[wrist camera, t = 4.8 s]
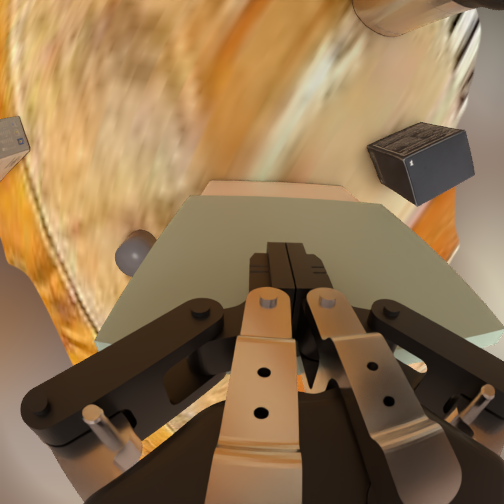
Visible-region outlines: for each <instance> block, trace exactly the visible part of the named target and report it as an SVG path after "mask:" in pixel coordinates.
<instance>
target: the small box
mask: <svg viewBox="0 0 504 504" xmlns="http://www.w3.org/2000/svg"><path fill="white" fill-rule="evenodd" d="M367 149H368V152H369V153H370V155H371V158H372V160H373V163H374V165H375V168H376V171H377V175H378V177H379V179H380V182H381V183H382V184H384V185H385V186H387V187H388V188H390V189H392V190H393V191H395V192H396V193H398V194H399V195H401V196H402V197H404V198H405V199H407V200H408V201H410V202H411V203H413V204H414V205H416V206H417V207H418V206H420V205H422V204H423V203H425V202H427V201H429V200H431V199H433V198H434V197H436V196H438V195H440V194H442V193H444V192H445V191H447V190H449V189H451V188H453V187H454V186H456V185H458V184H460V183H462V182H463V181H465V180H467V179H468V178H471V177H472V176H474V175H475V173H474V166H473V161H472V156H471V152H470V147H469V143H468V139H467V135H466V131H465V130H459V129H453V128H448V127H443V126H438V125H432V124H427V123H423V122H420V123H418V124H416V125H413V126H411V127H409V128H406V129H404V130H402V131H399V132H397V133H394V134H392V135H390V136H388V137H385V138H383V139H381V140H379V141H377V142H374V143H372V144H370V145H368V146H367Z"/></svg>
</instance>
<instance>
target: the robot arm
mask: <svg viewBox="0 0 504 504" xmlns="http://www.w3.org/2000/svg"><path fill="white" fill-rule="evenodd" d="M352 1H353V7H354V10H355V12H356V14H357V15H358V17H359V18H360V19H361V21H362V22H363V23H364V24H365V25H366V26H368V27H369V28H370V29H372V30H374V31H375V32H377V33H379V34H382V35H385V36H400V35H402V34H404V33H407V32H409V31H412V30H414V29H417V28H419V27H422V26H424V25H427V24H429V23H432V22H435V21H438V20H440V19H443V18H446V17H449V16H452V15H455V14H458V13H461V12H464V11H468V10H471V9H475V8H478V7H485V8H488V9H493V10H504V0H352ZM295 341H298V350H297V361H298V365H299V369H300V373H301V377H302V381H303V385H304V389H305V392H298V385H297V361H296V342H295ZM397 345H398V346H399V347H401V348H403V349H404V350H406V351H408V352H409V353H411V354H412V355H414V356H416V357H417V358H419V359H421V360H422V361H424V362H425V364H426V365H427V372H426V373H420V372H417V371H416V370H414V369H413V368H411V367H409V366H408V365H406V364H405V363H403V362H401V361H400V360H398V359H397V358H395V357H394V355H393V354H394V352H395V349H396V347H397ZM229 371H231V374H230V379H229V385H228V390H227V396H226V400H224V401H221V402H218V403H216V404H213V405H211V406H210V407H208V408H206V409H204V410H202V411H201V412H199V413H198V414H197V415H195V416H194V417H193V418H192V419H191V420H190V421H188V422H187V423H186V424H185V425H184V426H182V427H181V428H180V429H179V430H178V431H176V432H175V433H174V434H173V435H172V436H170V437H169V438H168V439H167V440H166V441H164V442H163V443H162V444H161V445H159V446H158V447H157V448H156V449H154V450H153V451H152V452H150V453H149V454H148V455H147V456H145V457H144V458H143V459H141V460H140V461H139V462H137V461H138V460H139V458H140V456H141V454H142V448H143V447H142V442H141V441H142V440H144V439H145V438H147V437H148V436H150V435H151V434H152V433H154V432H155V431H156V430H158V429H159V428H161V427H162V426H163V425H165V424H166V423H167V422H169V421H170V420H171V419H173V418H174V417H175V416H177V415H178V414H179V413H181V412H182V411H183V410H185V409H186V408H187V407H188V406H190V405H191V404H192V403H194V402H195V401H196V400H197V399H199V398H200V397H201V396H202V395H204V394H205V393H206V392H207V391H209V390H210V389H211V388H212V387H213V386H215V385H216V384H217V383H218V382H220V381H221V380H222V379H223V378H224V377H225V375H226V372H229ZM21 416H22V419H23V420H24V422H25V423H26V424H27V425H28V426H29V427H30V428H31V429H32V430H33V431H34V432H35V433H36V434H37V435H38V436H39V438H40V439H41V440H42V441H43V442H44V443H45V444H46V445H47V446H48V447H49V448H50V449H51V450H52V452H53V454H54V456H55V458H56V459H57V461H58V463H59V464H60V466H61V468H62V470H63V471H64V473H65V474H66V476H67V478H68V479H69V481H70V482H71V483H72V485H73V487H74V488H75V490H76V491H77V493H78V494H79V495H80V497H81V498H82V500H83V501H84V504H504V460H503V459H502V458H501V457H500V454H501V452H502V449H503V446H504V361H502V360H500V359H499V358H497V357H495V356H494V355H492V354H490V353H488V352H487V351H485V350H483V349H481V348H480V347H478V346H476V345H475V344H473V343H471V342H469V341H468V340H466V339H464V338H462V337H460V336H459V335H457V334H455V333H453V332H452V331H450V330H448V329H446V328H444V327H443V326H441V325H439V324H437V323H436V322H434V321H432V320H430V319H428V318H426V317H425V316H423V315H421V314H419V313H417V312H416V311H414V310H412V309H410V308H408V307H406V306H405V305H403V304H401V303H399V302H397V301H394V300H390V299H379V300H376V301H375V302H374V303H373V304H372V306H371V310H369V309H363V308H358V307H354V306H351V305H350V303H349V301H348V299H347V298H346V296H345V295H344V294H342V293H341V292H339V291H337V290H335V289H334V288H333V285H332V283H331V281H330V278H329V276H328V274H327V271H326V269H325V268H324V265H323V262H322V260H321V259H320V258H318V257H317V256H316V255H315V254H306V251H305V248H304V245H303V243H294V242H285V243H284V242H267V250H266V253H254V254H253V255H252V256H251V258H250V263H249V294H248V295H247V298H246V300H245V301H244V302H243V303H241V304H240V305H237V306H235V307H231V308H225V309H223V307H222V305H221V304H220V303H219V302H217V301H215V300H213V299H209V298H195V299H191V300H189V301H186V302H185V303H183V304H181V305H179V306H178V307H176V308H174V309H173V310H171V311H169V312H167V313H166V314H164V315H162V316H160V317H159V318H157V319H155V320H153V321H152V322H150V323H148V324H146V325H145V326H143V327H141V328H139V329H138V330H136V331H134V332H132V333H131V334H129V335H127V336H125V337H124V338H122V339H120V340H118V341H117V342H115V343H113V344H111V345H110V346H108V347H106V348H104V349H103V350H101V351H99V352H97V353H96V354H94V355H92V356H90V357H88V358H87V359H85V360H83V361H81V362H80V363H78V364H76V365H74V366H72V367H71V368H69V369H67V370H65V371H64V372H62V373H60V374H58V375H56V376H55V377H53V378H51V379H49V380H47V381H46V382H44V383H42V384H40V385H38V386H37V387H35V388H33V389H32V390H30V391H29V392H28V393H27V394H26V395H25V397H24V398H23V400H22V403H21ZM136 462H137V463H136ZM135 463H136V464H135ZM134 464H135V465H134Z"/></svg>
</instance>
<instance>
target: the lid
mask: <svg viewBox="0 0 504 504" xmlns="http://www.w3.org/2000/svg"><path fill="white" fill-rule="evenodd" d="M267 242H284V243H285V242H294V243H303V245H304V248H305V251H306V254H315V255H316V256H317V257H318V258H320V259H321V260H322V262H323V265H324V268H325V269H326V271H327V274H328V276H329V278H330V281H331V283H332V285H333V288H334V289H335V290H337V291H339V292H341V293H342V294H344V295H345V296H346V298H347V299H348V301H349V303H350V305H351V306H354V307H358V308H363V309H369V310H371V306H372V304H373V303H374V302H375V301H376V300H379V299H390V300H394V301H397V302H399V303H401V304H403V305H405V306H406V307H408V308H410V309H412V310H414V311H416V312H417V313H419V314H421V315H423V316H425V317H426V318H428V319H430V320H432V321H434V322H436V323H437V324H439V325H441V326H443V327H444V328H446V329H448V330H450V331H452V332H453V333H455V334H457V335H459V336H460V337H462V338H464V339H466V340H468V341H469V342H471V343H473V344H475V345H476V346H478V347H480V348H484V347H487V346H491V345H494V344H497V342H498V340H499V339H500V337H501V336H502V334H503V332H504V326H503V325H502V323H501V322H500V321H499V320H498V318H496V316H495V315H494V314H493V312H492V311H491V310H490V309H489V308H488V306H487V305H486V304H485V303H484V302H483V301H482V300H481V298H480V297H479V296H478V295H477V294H476V293H475V292H474V291H473V290H472V289H471V288H470V286H469V285H468V284H467V283H466V282H465V281H464V280H463V279H462V278H461V277H460V276H459V275H458V274H457V273H456V272H455V270H453V268H451V266H450V265H449V264H448V263H447V262H446V261H445V260H444V259H442V258H441V257H440V256H439V255H438V254H437V253H436V252H435V251H434V250H433V249H432V248H431V247H430V246H429V245H428V244H427V243H426V242H425V241H423V240H422V239H421V238H420V237H419V236H418V235H417V234H416V233H415V232H413V231H412V230H411V229H410V228H409V227H408V226H407V225H406V224H404V223H403V222H402V221H401V220H400V219H399V218H397V217H396V216H395V215H394V214H393V213H391V212H390V211H389V210H388V209H387V208H385V207H384V206H383V205H382V204H374V203H363V202H351V201H338V200H324V199H308V198H288V197H263V196H216V195H190V196H189V197H188V198H187V200H186V201H185V202H184V204H183V205H182V206H181V208H180V209H179V210H178V212H177V213H176V214H175V216H174V217H173V218H172V220H171V221H170V223H169V224H168V225H167V227H166V228H165V230H164V231H163V232H162V234H161V235H160V237H159V238H158V240H157V241H156V242H155V244H154V245H153V247H152V248H151V250H150V251H149V253H148V254H147V256H146V257H145V259H144V260H143V262H142V263H141V265H140V266H139V268H138V269H137V271H136V272H135V274H134V275H133V277H132V278H131V280H130V282H129V283H128V285H127V286H126V288H125V290H124V291H123V293H122V294H121V296H120V298H119V299H118V301H117V303H116V304H115V306H114V307H113V309H112V311H111V312H110V314H109V316H108V318H107V319H106V321H105V323H104V324H103V326H102V328H101V330H100V331H99V333H98V335H97V337H96V339H95V340H94V342H95V344H96V346H97V348H98V351H101V350H103V349H104V348H106V347H108V346H110V345H111V344H113V343H115V342H117V341H118V340H120V339H122V338H124V337H125V336H127V335H129V334H131V333H132V332H134V331H136V330H138V329H139V328H141V327H143V326H145V325H146V324H148V323H150V322H152V321H153V320H155V319H157V318H159V317H160V316H162V315H164V314H166V313H167V312H169V311H171V310H173V309H174V308H176V307H178V306H179V305H181V304H183V303H185V302H186V301H189V300H191V299H195V298H209V299H213V300H215V301H217V302H219V303H220V304H221V305H222V307H223V309H225V308H231V307H235V306H237V305H240V304H241V303H243V302H244V301H245V300H246V298H247V295H248V294H249V263H250V258H251V256H252V255H253V254H254V253H266V250H267ZM295 342H296V361H297V350H298V341H295ZM393 355H394V357H395V358H397V359H398V360H400V361H401V362H403V363H405V364H412V363H418V362H423V361H422V360H421V359H419V358H417V357H416V356H414V355H412V354H411V353H409V352H408V351H406V350H404V349H403V348H401V347H399V346H398V345H397V347H396V349H395V352H394V354H393ZM226 374H231V371H229V372H226ZM297 375H301V373H300V369H299V365H298V361H297Z"/></svg>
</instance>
